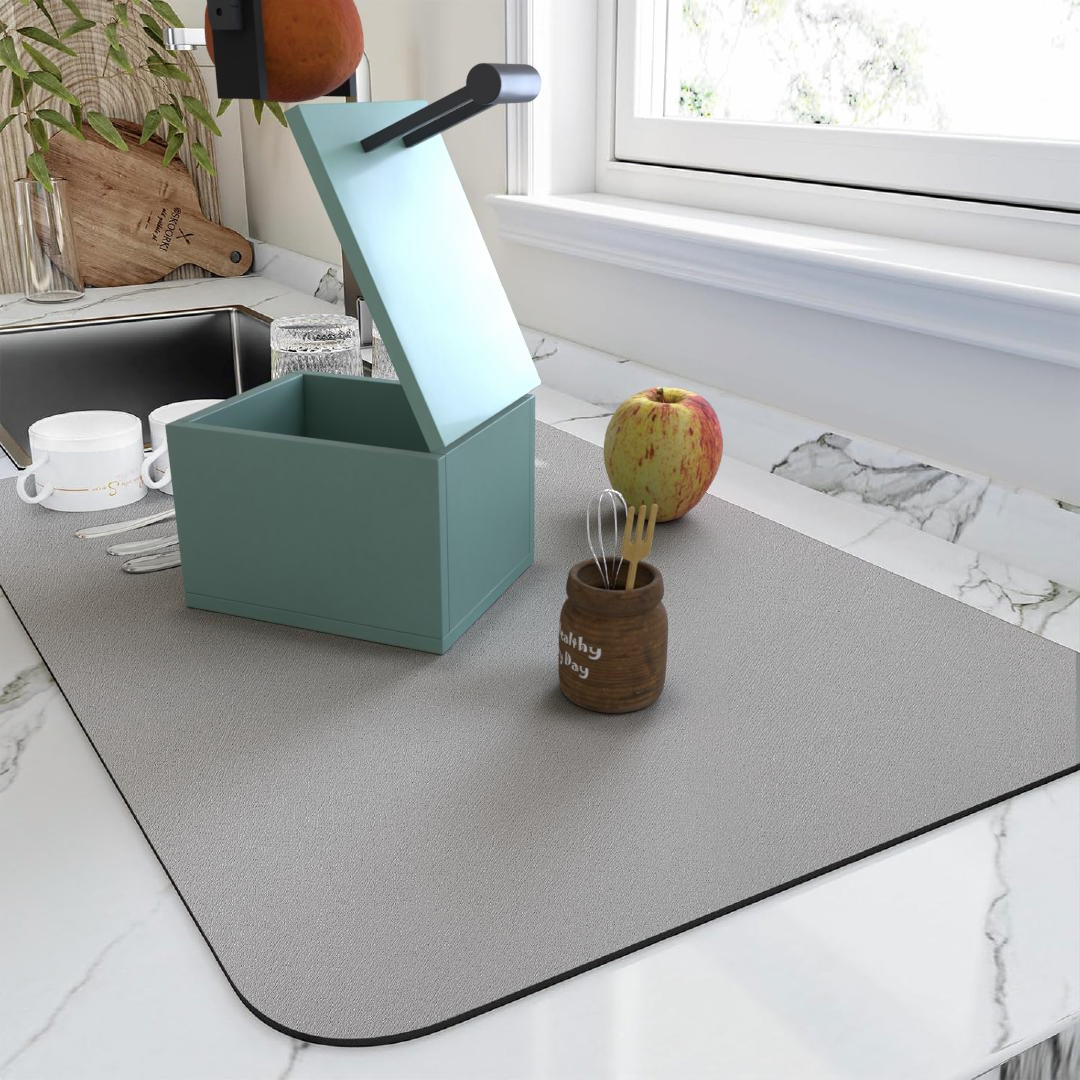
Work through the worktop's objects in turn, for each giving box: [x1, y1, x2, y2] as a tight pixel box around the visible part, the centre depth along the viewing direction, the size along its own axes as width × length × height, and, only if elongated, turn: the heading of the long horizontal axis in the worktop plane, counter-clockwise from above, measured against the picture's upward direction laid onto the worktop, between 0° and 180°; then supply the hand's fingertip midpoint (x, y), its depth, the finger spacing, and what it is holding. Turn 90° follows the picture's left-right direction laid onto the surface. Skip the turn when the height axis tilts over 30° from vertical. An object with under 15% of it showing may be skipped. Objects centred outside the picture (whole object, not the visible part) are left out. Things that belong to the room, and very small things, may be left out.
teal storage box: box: [164, 369, 536, 655], centre depth 75 cm, size 18×15×12 cm
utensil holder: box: [557, 489, 669, 714], centre depth 62 cm, size 6×6×12 cm
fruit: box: [204, 0, 365, 104], centre depth 66 cm, size 9×9×8 cm
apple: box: [603, 386, 724, 523], centre depth 88 cm, size 9×9×10 cm
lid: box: [283, 62, 542, 452], centre depth 65 cm, size 19×15×10 cm
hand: (291, 97), depth 67 cm, fingers closed on fruit, 9 cm apart
